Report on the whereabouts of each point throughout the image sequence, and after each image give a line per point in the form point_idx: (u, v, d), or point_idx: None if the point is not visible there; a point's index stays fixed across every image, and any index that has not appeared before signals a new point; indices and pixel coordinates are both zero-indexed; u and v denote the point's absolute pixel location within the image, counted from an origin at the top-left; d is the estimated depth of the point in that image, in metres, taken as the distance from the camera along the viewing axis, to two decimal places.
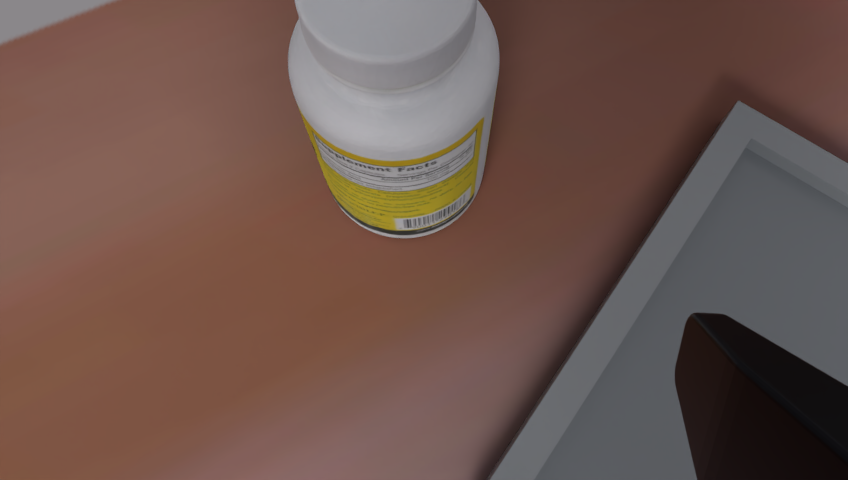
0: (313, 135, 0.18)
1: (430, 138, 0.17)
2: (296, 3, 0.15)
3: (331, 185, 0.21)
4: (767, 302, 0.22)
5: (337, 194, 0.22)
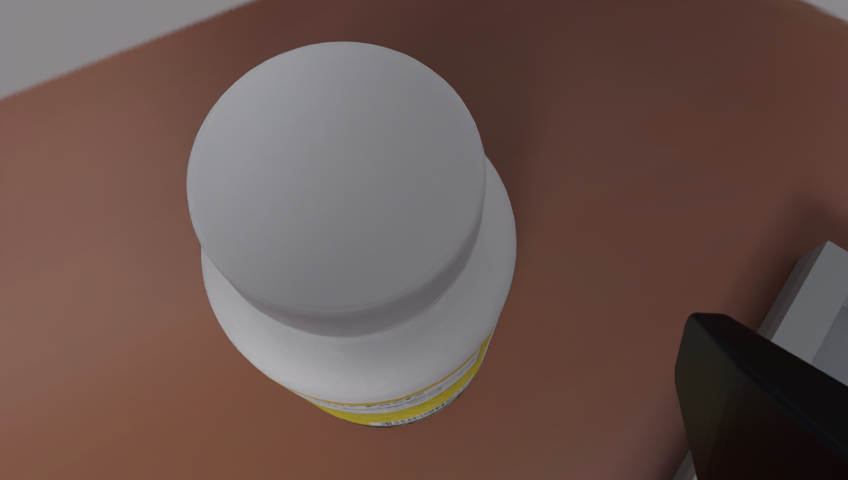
0: None
1: (412, 381, 0.11)
2: (189, 207, 0.09)
3: None
4: None
5: None
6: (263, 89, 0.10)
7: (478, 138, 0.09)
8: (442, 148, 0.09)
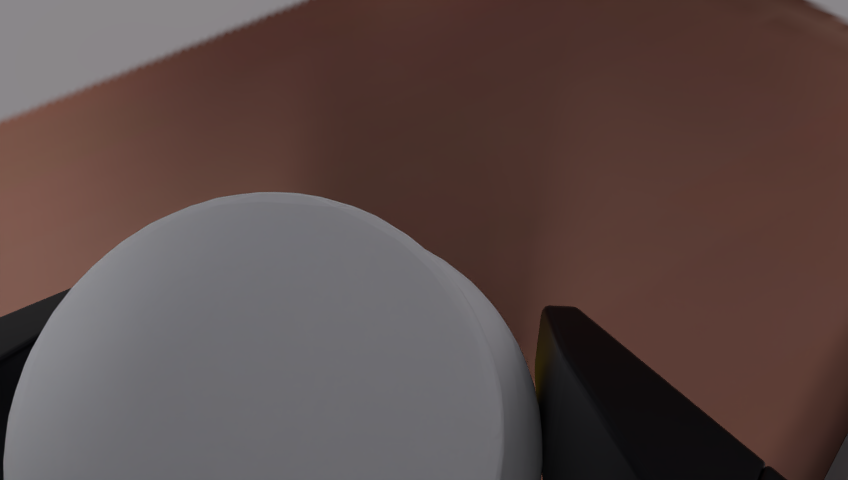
0: None
1: None
2: None
3: None
4: None
5: None
6: (140, 277, 0.06)
7: (491, 369, 0.06)
8: (431, 387, 0.06)
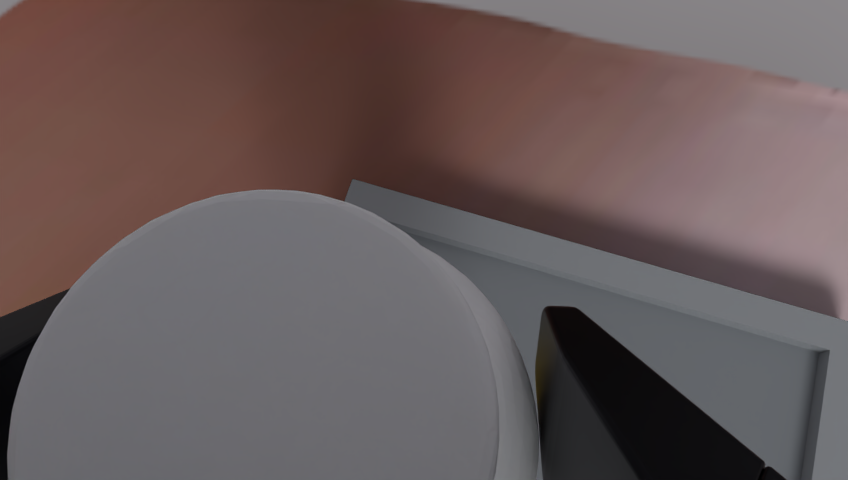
0: None
1: None
2: None
3: None
4: None
5: None
6: (141, 274, 0.06)
7: (486, 364, 0.06)
8: (427, 382, 0.06)
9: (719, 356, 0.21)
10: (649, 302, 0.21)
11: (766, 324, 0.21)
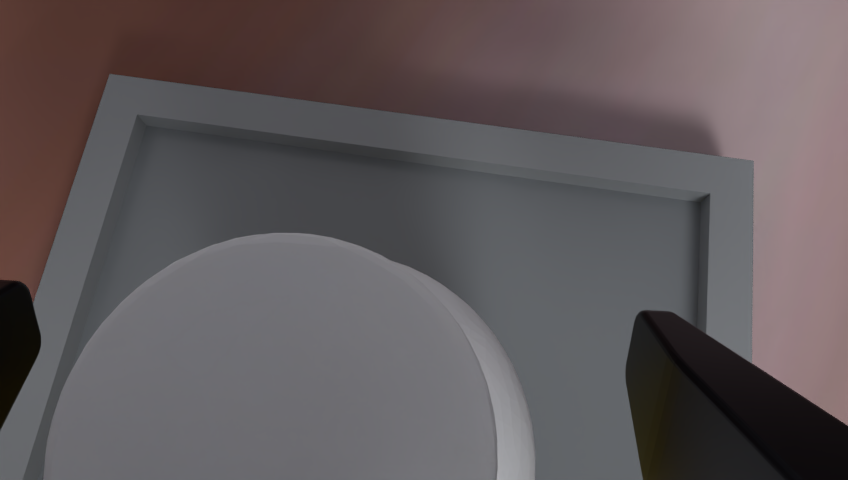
0: None
1: None
2: None
3: None
4: None
5: None
6: (166, 312, 0.06)
7: (486, 398, 0.06)
8: (431, 415, 0.06)
9: (582, 224, 0.17)
10: (490, 171, 0.17)
11: (630, 174, 0.17)
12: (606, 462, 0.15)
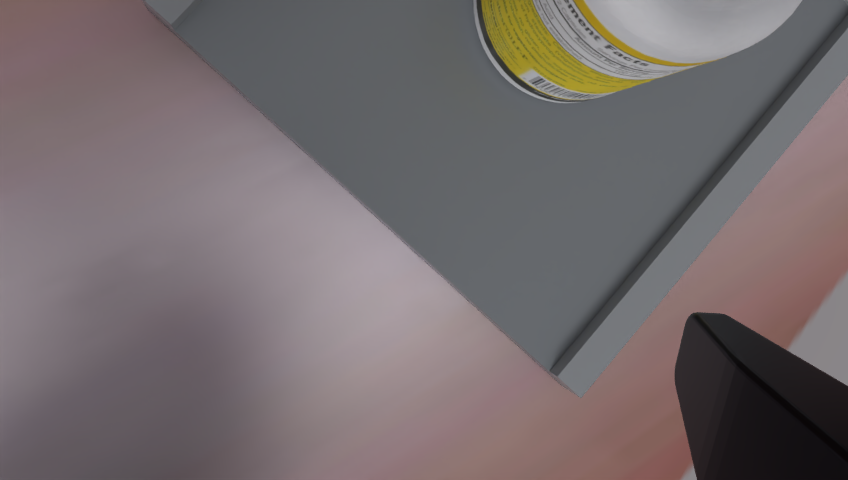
0: None
1: (676, 47, 0.13)
2: None
3: None
4: None
5: None
6: None
7: None
8: None
9: None
10: None
11: None
12: (688, 116, 0.21)
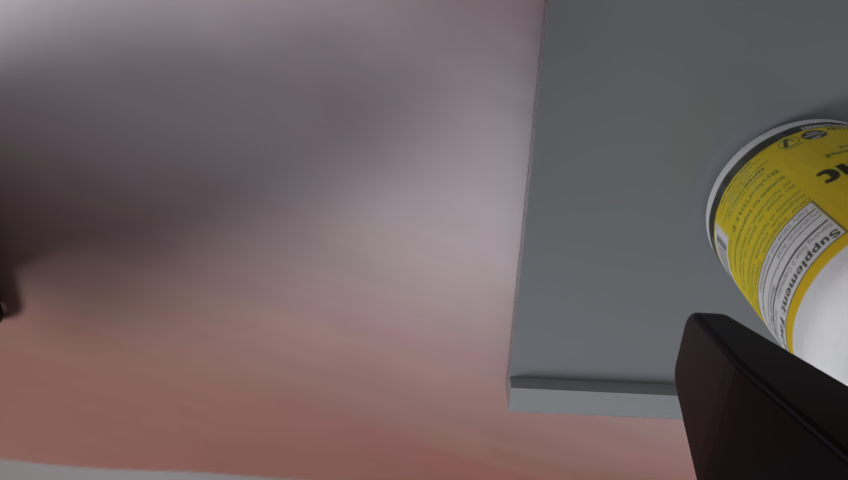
0: (841, 226, 0.15)
1: None
2: None
3: (777, 168, 0.18)
4: None
5: (765, 171, 0.18)
6: None
7: None
8: None
9: None
10: None
11: None
12: None
